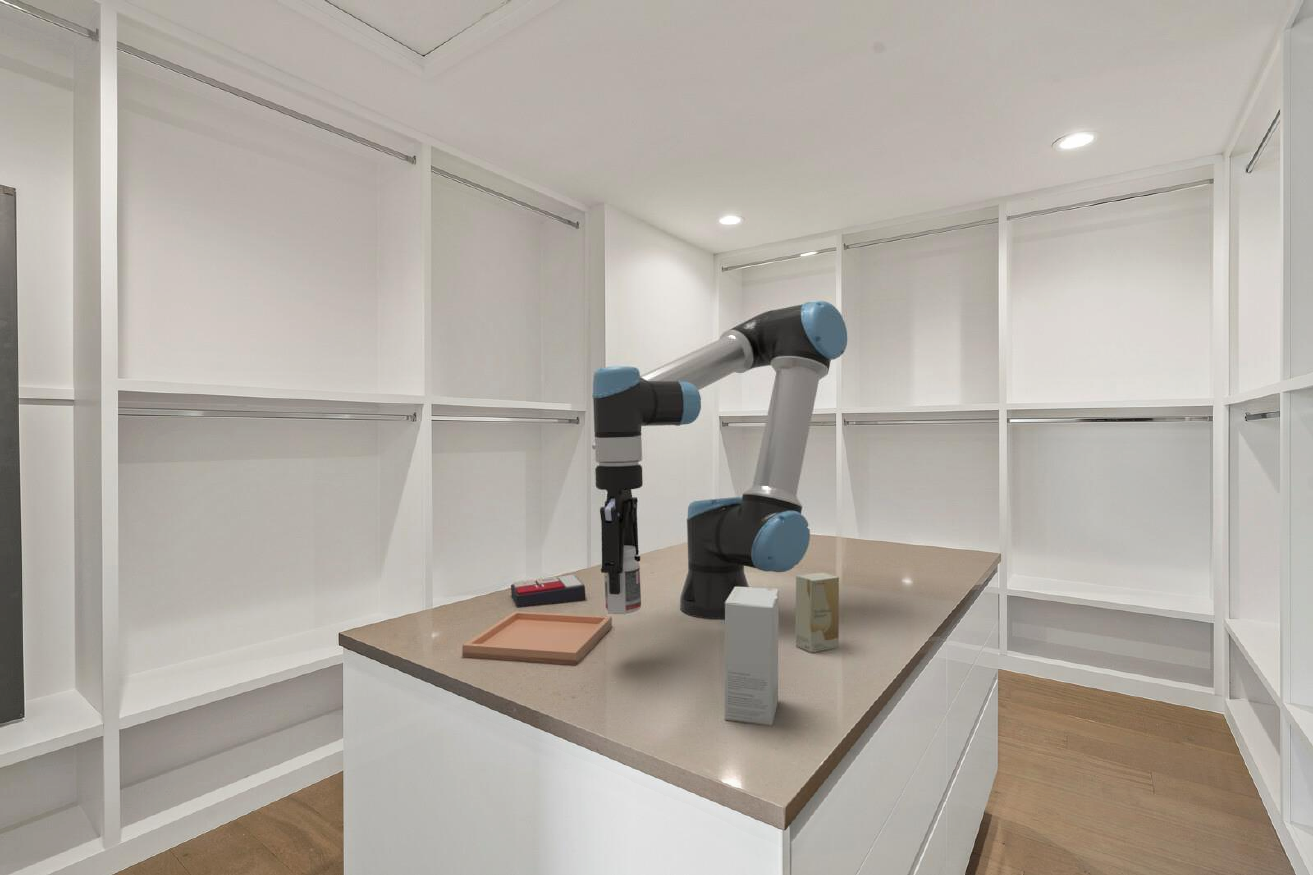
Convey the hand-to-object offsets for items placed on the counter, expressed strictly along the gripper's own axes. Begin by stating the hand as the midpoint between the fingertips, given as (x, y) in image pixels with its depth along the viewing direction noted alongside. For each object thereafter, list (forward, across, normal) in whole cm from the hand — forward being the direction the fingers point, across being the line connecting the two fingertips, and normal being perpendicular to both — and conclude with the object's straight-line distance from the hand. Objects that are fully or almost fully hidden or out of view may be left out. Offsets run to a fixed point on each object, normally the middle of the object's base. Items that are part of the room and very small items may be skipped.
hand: (622, 607), depth 102 cm
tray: (+9, -8, -17) cm, 21 cm away
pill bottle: (+1, 0, 0) cm, 1 cm away
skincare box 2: (+10, -14, +31) cm, 35 cm away
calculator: (+10, -36, -28) cm, 46 cm away
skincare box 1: (+9, +13, +22) cm, 27 cm away
